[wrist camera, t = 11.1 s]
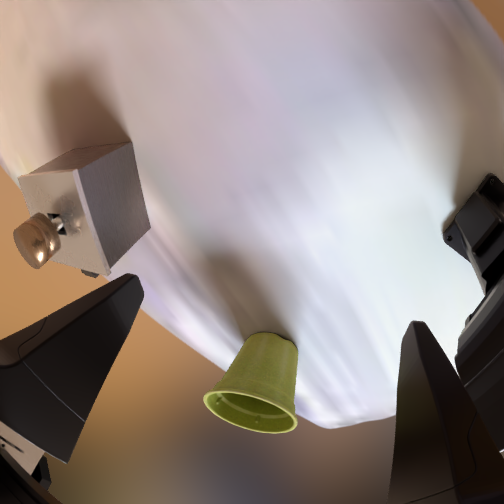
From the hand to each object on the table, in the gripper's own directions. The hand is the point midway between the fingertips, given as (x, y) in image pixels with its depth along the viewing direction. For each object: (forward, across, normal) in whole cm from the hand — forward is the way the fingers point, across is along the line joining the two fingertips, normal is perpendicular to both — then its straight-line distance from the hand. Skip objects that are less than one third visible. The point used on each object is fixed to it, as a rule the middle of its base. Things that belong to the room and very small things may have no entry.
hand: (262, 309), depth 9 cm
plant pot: (+13, +3, +21) cm, 25 cm away
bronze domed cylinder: (+12, +19, +2) cm, 22 cm away
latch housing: (+13, +19, +2) cm, 23 cm away
